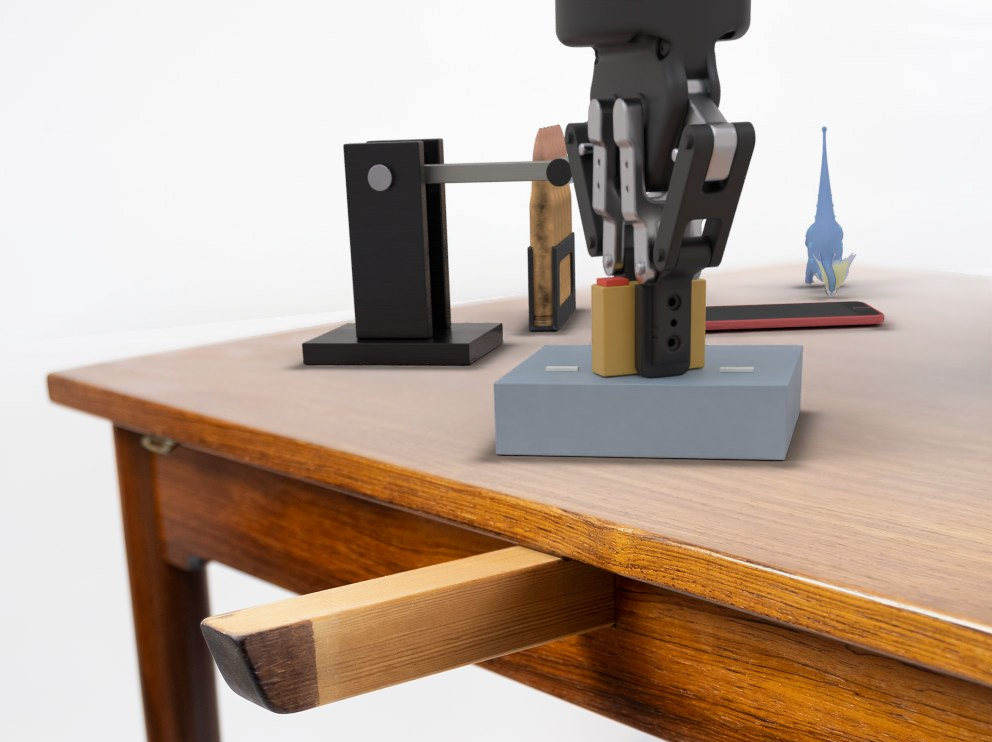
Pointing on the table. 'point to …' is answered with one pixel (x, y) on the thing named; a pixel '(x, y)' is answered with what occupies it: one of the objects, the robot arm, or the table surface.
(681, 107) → the robot arm
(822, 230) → the dinosaur figurine
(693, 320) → the yellow block
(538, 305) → the ammunition clip
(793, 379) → the switch base
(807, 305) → the smartphone
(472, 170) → the handle lever
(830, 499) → the table surface
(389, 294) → the lever stand
